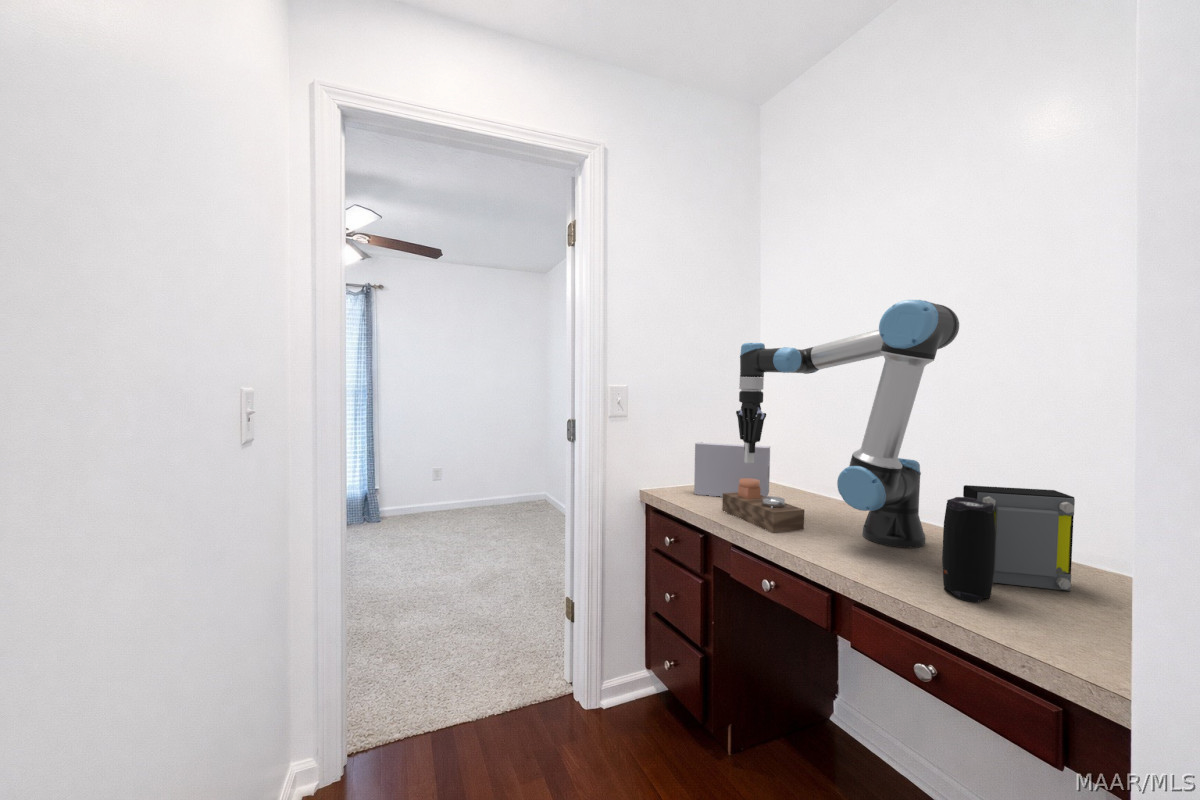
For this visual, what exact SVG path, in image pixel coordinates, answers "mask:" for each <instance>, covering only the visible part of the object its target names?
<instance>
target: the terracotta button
mask: <svg viewBox="0 0 1200 800" xmlns="http://www.w3.org/2000/svg"><path fill="white" fill-rule="evenodd" d="M760 490H761V487H760V480H758V479H752V478H741V479H739V485H738V496H740V497H743V498H745V499H756V498H760Z"/></svg>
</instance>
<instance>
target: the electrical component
mask: <svg viewBox="0 0 1200 800" xmlns="http://www.w3.org/2000/svg"><path fill="white" fill-rule="evenodd" d="M962 495H963V496H962V497H968V498H975V499H977V500H978V501H981V502H985V503H993V504H994V507H993V508H994V520H995V531H996V539H995V564H994V576H993V583H994V584H1003V585H1011V586H1012V585H1013V586H1021V587H1031V588H1032V587H1033V588H1040V589H1049V590H1050V589H1051V590H1058V591H1069V592H1070V591H1072V589H1071V587H1072V559H1073V557H1072V556H1073V536H1074V516H1075V504H1076V503H1075V501H1076V500H1075V496H1073V495H1072V496H1071V495H1069V494H1066V493H1065V492H1061V491H1057V490H1055V489H1042V488H1041V489H1040V488H1024V487H1023V488H1021V487H1005V486H1002V487H1001V486H983V485H982V486H981V485H967V484H965V485H963V491H962ZM993 583H992V584H993Z"/></svg>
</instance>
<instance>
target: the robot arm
mask: <svg viewBox="0 0 1200 800" xmlns="http://www.w3.org/2000/svg"><path fill="white" fill-rule="evenodd" d="M959 330H960V321H959V317H958V316H957V314H956V313H955V311H953V310H952V309H951V308H949V307H947V306H945V305H943V304H938V303H933V302H930V301H927V300H921V299H905V300H901V301H898V302H896V303H895V304H893V305H892V306H889V308H887V309H886V310H885V312H884V313H883V314H882V316H881V318H880V320H879V324H878V329H875V330H872V331H868V332H864V333H861V334H856V335H854V336H850V337H845V338H842V339H837V340H834V341H830V342H826V343H822V344H819V345H816V346H812V347H807V348H804V349H797V348H796V347H787V346H786V347H785V346H784V347H778V348H774V347H773V348H766V346H765V343H764V342H763V343H762V342H745V343H743V344H741V346H740V353H739V354H740V355H739V360H740V361H739V362H740V364H739V365H740V366H739V367H740V369H739V370H740V371H739V373H740V374H739V382H738V383H739V386H738V387H739V388H738V389H739V390H741V391H739V392H738V393H739V395H738V397H739V398H738V401H739V403H741V406H740V409H739V410H736V412H735V414H736V417H737V423H738V424H737V425H738V431H739V439H740V440H742V442H743V445H744V452H745V458H744V462H745V463H754V453H755V445H756V444H757V443H758V442H761V438H762V432H763V427H764V424H765V423H764V422H765V419H766V417H767V413H765V412H763V411H762V406H761V404H763V403H764V392H763V390H764V381H765V373H783V374H785V373H786V374H789V373H791V374H805V375H807V374H814V373H816V372H818V371H819V370H823V369H828V368H833V367H837V366H842V365H847V364H852V363H855V362H861V361H864V360H869V359H870V360H871V359H875V358H880V357H883V358H884V364H883V367H882V369H881V374H880V377H879V381H878V386H877V389H876V392H875V395H874V399H873V403H872V406H871V410H870V414H869V417H868V421H867V425H866V429H865V432H864V435H863V440H862V443H861V445H860V446H861V447H860V448H859V449H857V450H855V451H854V452H853V453H852V455H851V457H850V458H851V459H850V461H849V465H848V466H847V467H845V468H844V469H842V471H841V472H840V473H839V475H838V477H837V482H836V486H837V490H838V493H839V495H840V496H841V498H842V500H843V501H844V502H845V503H846V504H847V505H848V506H850V507H851V508H853V509H854V510H857V511H862V512H863V511H865V512H868V514H867V515H866V518H865V522H864V524H863V526H862V537H863V538H865V539H867V540H868V541H871V542H873V543H876V544H881V545H884V546H885V545H886V546H889V547H895V548H896V547H897V548H906V549H907V548H909V549H911V548H914V549H915V548H921V547H924V546H926V533H925V532H924V528H923V524H922V522H921V518H920V516H919V515H920V514H919V512H920V510H919V509H920V490H921V489H920V488H921V487H920V486H921V474H922V473H921V466H920V463H919V462H918V460H915V459H909V458H901V457H899V454H900V451H901V448H902V444H903V441H904V438H905V435H906V434H905V433H906V431H907V427H908V424H909V421H910V417H911V414H912V410H913V408H914V403H915V401H916V397H917V393H918V390H919V387H920V383H921V379H922V377H923V373H924V369H925V367H927V365H929V364H930V363H932V362H934V361H935V359H936V356H937V352H938V350H940V349H943V348H946V347H947V346H948V345H950V344H951V343H953V341H954V340H955V339H956V337H957V336H958V334H959Z"/></svg>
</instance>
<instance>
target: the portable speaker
mask: <svg viewBox="0 0 1200 800" xmlns="http://www.w3.org/2000/svg"><path fill="white" fill-rule="evenodd" d="M993 507H994V504H993V503H985V502H981V501H978V500H977V499H975V498H968V497H964V496H955V497H953V498H950V499H947V500H946V506H945V512H944V518H943V519H944V520H943V531H942V532H943V533H942V534H943V535H942V552H941V553H942V554H941V561H942V564H941V565H942V579H943V580H942V581H943V590H944V591H946V590H947V591H949V592H951V593H952V594H953V597H955V598H957V599H960V600H962V601H965V602H972V603H980V601H982V600H983V599H988V600H990V599H991V595H992V590H993V576H994V564H995V539H996V531H995V520H994V508H993Z"/></svg>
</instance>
